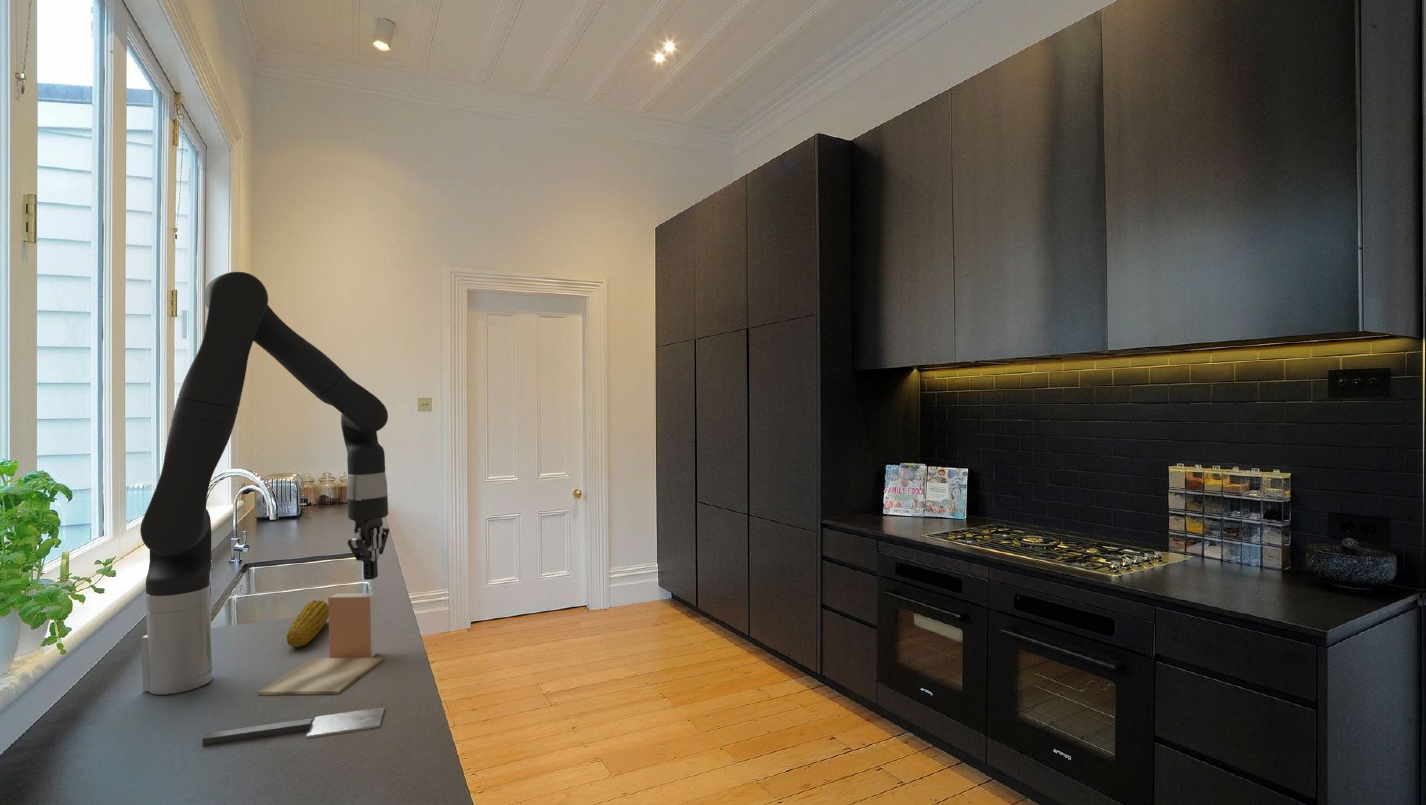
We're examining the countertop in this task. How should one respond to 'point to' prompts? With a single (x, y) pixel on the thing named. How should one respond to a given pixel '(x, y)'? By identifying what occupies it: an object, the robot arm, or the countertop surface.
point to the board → (321, 676)
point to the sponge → (352, 625)
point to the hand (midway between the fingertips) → (370, 578)
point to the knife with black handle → (302, 727)
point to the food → (308, 623)
